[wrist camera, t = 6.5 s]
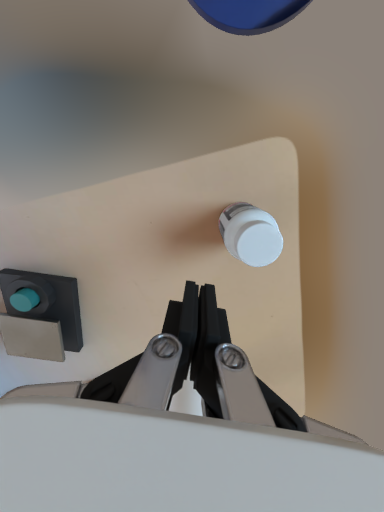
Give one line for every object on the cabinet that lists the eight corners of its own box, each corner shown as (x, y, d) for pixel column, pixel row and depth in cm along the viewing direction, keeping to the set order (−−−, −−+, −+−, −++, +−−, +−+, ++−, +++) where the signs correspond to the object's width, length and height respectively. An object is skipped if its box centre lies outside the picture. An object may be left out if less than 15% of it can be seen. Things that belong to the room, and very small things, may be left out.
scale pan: (-1, 312, 29) (-5, 314, 28) (59, 320, 29) (57, 323, 28) (10, 351, 32) (7, 354, 31) (65, 359, 32) (63, 362, 31)
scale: (4, 265, 30) (-17, 274, 27) (76, 275, 30) (63, 285, 27) (22, 337, 35) (7, 351, 32) (83, 346, 35) (73, 360, 32)
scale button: (17, 286, 28) (7, 292, 26) (38, 289, 28) (29, 295, 26) (21, 303, 29) (11, 310, 27) (41, 306, 29) (33, 313, 27)
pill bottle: (249, 246, 27) (273, 281, 18) (212, 235, 26) (218, 264, 17) (266, 208, 25) (304, 226, 16) (227, 195, 24) (242, 205, 15)
